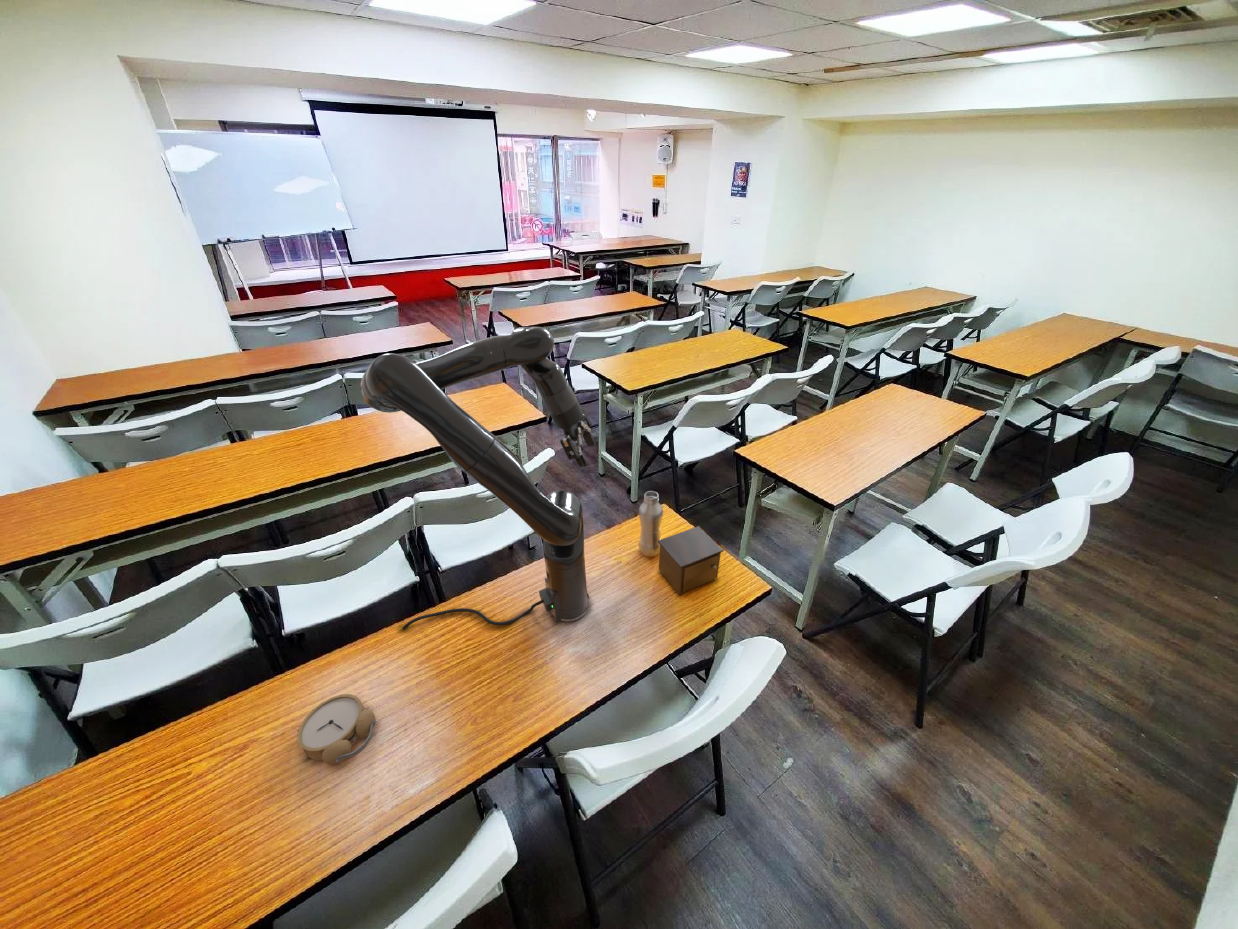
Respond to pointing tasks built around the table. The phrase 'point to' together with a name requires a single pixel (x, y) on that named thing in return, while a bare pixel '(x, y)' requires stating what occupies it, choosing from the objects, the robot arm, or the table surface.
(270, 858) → the table surface
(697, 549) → the cabinet
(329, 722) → the alarm clock
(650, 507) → the silver metal bottle
